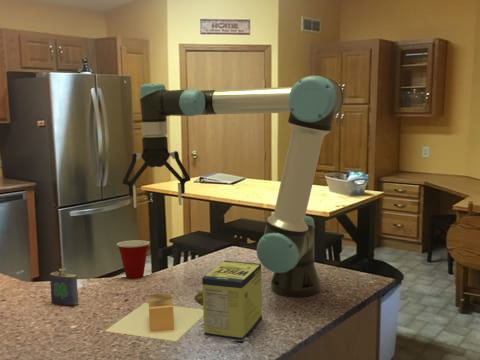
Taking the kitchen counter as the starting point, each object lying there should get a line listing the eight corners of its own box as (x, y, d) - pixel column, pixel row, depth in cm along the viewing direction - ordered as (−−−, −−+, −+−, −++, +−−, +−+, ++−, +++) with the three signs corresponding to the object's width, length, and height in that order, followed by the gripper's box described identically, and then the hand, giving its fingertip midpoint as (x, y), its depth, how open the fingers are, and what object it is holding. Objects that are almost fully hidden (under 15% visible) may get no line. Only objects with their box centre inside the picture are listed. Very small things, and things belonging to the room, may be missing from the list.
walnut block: (171, 292, 141) (173, 306, 132) (172, 314, 142) (174, 329, 132) (148, 294, 140) (148, 308, 131) (149, 316, 141) (150, 331, 131)
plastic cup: (154, 271, 183) (153, 237, 182) (146, 281, 173) (144, 246, 171) (124, 271, 184) (122, 237, 183) (114, 281, 174) (112, 246, 172)
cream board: (209, 313, 145) (208, 310, 144) (176, 345, 126) (176, 341, 126) (144, 306, 151) (144, 302, 151) (104, 334, 133) (104, 331, 133)
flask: (80, 303, 154) (78, 268, 153) (73, 307, 152) (71, 271, 150) (55, 300, 158) (52, 265, 156) (48, 303, 155) (45, 268, 154)
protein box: (262, 319, 140) (261, 262, 138) (243, 344, 126) (241, 281, 123) (226, 314, 144) (224, 259, 142) (203, 338, 129) (201, 277, 127)
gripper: (194, 134, 164) (197, 201, 167) (112, 136, 159) (116, 205, 162) (197, 135, 157) (199, 205, 160) (111, 138, 152) (115, 210, 155)
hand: (157, 205), depth 161 cm, fingers open, 13 cm apart
